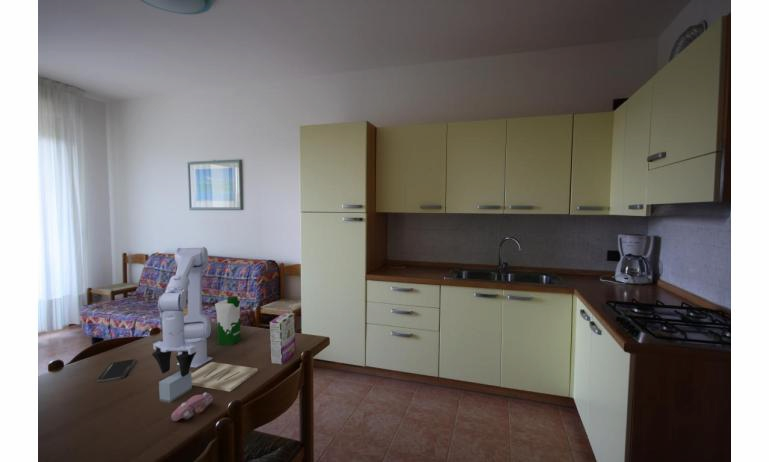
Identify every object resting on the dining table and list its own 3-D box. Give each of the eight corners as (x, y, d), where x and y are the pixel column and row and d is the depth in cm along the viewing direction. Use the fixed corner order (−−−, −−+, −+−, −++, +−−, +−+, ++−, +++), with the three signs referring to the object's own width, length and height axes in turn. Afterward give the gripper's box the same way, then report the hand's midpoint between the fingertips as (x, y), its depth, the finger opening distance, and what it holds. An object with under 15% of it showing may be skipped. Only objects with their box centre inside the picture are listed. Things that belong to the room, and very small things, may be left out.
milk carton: (233, 346, 142) (231, 300, 141) (213, 345, 144) (211, 299, 142) (244, 338, 151) (243, 295, 150) (225, 337, 152) (224, 294, 151)
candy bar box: (284, 351, 137) (283, 312, 136) (295, 352, 136) (295, 313, 135) (270, 363, 126) (268, 321, 125) (282, 365, 125) (281, 322, 124)
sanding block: (159, 401, 102) (158, 382, 102) (182, 387, 110) (181, 369, 109) (170, 403, 101) (169, 383, 100) (191, 389, 109) (191, 371, 108)
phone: (96, 380, 112) (111, 362, 126) (96, 384, 113) (111, 365, 126) (124, 376, 116) (136, 358, 129) (125, 379, 116) (136, 361, 129)
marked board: (179, 383, 112) (179, 380, 112) (211, 364, 126) (211, 361, 126) (229, 391, 107) (229, 388, 107) (257, 371, 120) (257, 368, 120)
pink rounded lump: (176, 430, 90) (181, 412, 88) (168, 418, 92) (173, 400, 90) (211, 412, 99) (217, 394, 97) (203, 401, 101) (209, 383, 99)
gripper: (143, 333, 102) (145, 376, 103) (181, 337, 98) (183, 382, 99) (164, 325, 109) (165, 366, 110) (200, 329, 105) (202, 371, 106)
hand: (175, 373), depth 105 cm, fingers open, 7 cm apart
